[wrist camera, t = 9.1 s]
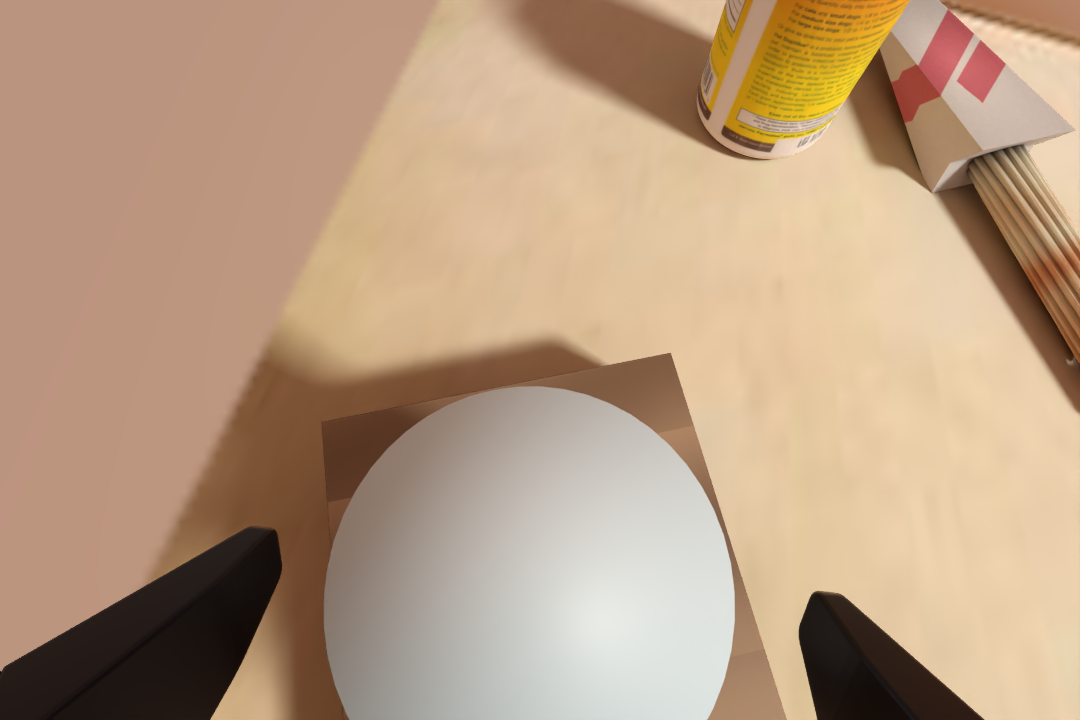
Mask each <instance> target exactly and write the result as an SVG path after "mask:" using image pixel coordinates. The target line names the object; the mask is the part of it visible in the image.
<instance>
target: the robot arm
mask: <svg viewBox="0 0 1080 720" xmlns="http://www.w3.org/2000/svg"><path fill="white" fill-rule="evenodd" d="M281 571H282V561H281V554H280V547H279V541H278V535H277V532H276V531H275V530H274V529H272V528H267V527H258V526H250V527H248V528H246V529H244V530H242V531H240V532H238V533H237V534H235V535H233V536H231V537H230V538H228V539H226V540H225V541H223V542H221V543H219V544H218V545H216V546H214V547H212V548H211V549H209V550H207V551H205V552H204V553H202V554H200V555H198V556H197V557H195V558H193V559H191V560H190V561H188V562H186V563H184V564H183V565H181V566H179V567H177V568H176V569H174V570H172V571H170V572H169V573H167V574H165V575H164V576H162V577H160V578H158V579H157V580H155V581H153V582H151V583H150V584H148V585H146V586H144V587H143V588H141V589H139V590H137V591H136V592H134V593H132V594H130V595H129V596H127V597H125V598H123V599H122V600H120V601H118V602H117V603H115V604H113V605H111V606H109V607H108V608H106V609H104V610H102V611H101V612H99V613H97V614H96V615H94V616H92V617H90V618H89V619H87V620H85V621H83V622H82V623H80V624H78V625H76V626H75V627H73V628H71V629H70V630H68V631H66V632H64V633H62V634H61V635H59V636H57V637H56V638H54V639H52V640H50V641H48V642H47V643H45V644H43V645H42V646H40V647H38V648H36V649H34V650H33V651H31V652H29V653H27V654H26V655H24V656H22V657H21V658H19V659H17V660H15V661H14V662H12V663H10V664H8V665H7V666H5V667H4V668H3V670H2V672H1V671H0V720H210V719H211V717H212V715H213V714H214V712H215V710H216V708H217V707H218V705H219V703H220V701H221V700H222V698H223V696H224V694H225V693H226V691H227V689H228V687H229V686H230V684H231V682H232V680H233V678H234V677H235V675H236V673H237V671H238V669H239V667H240V665H241V663H242V661H243V659H244V657H245V655H246V653H247V650H248V648H249V646H250V644H251V641H252V639H253V637H254V635H255V633H256V630H257V628H258V626H259V624H260V621H261V619H262V617H263V615H264V612H265V610H266V608H267V606H268V603H269V601H270V599H271V597H272V595H273V592H274V590H275V588H276V586H277V583H278V581H279V579H280V575H281ZM799 641H800V646H801V650H802V655H803V659H804V663H805V668H806V672H807V676H808V681H809V685H810V689H811V694H812V698H813V702H814V707H815V711H816V716H817V720H984V719H983V718H982V717H981V716H980V715H979V714H978V713H976V712H975V711H974V710H973V709H972V708H971V707H970V706H968V705H967V704H966V703H965V702H964V701H963V700H962V699H960V698H959V697H958V696H957V695H956V694H955V693H954V692H952V691H951V690H950V689H949V688H948V687H947V686H946V685H945V684H943V683H942V682H941V681H940V680H939V679H938V678H937V677H935V676H934V675H933V674H932V673H931V672H930V671H929V670H927V669H926V668H925V667H924V666H923V665H922V664H921V663H920V662H918V661H917V660H916V659H915V658H914V657H913V656H912V655H910V654H909V653H908V652H907V651H906V650H905V649H904V648H902V647H901V646H900V645H899V644H898V643H897V642H896V641H895V640H893V639H892V638H891V637H890V636H889V635H888V634H887V633H885V632H884V631H883V630H882V629H881V628H880V627H879V626H877V625H876V624H875V623H874V622H873V621H872V620H871V619H870V618H868V617H867V616H866V615H865V614H864V613H863V612H862V611H860V610H859V609H858V608H857V607H856V606H855V605H854V604H852V603H851V602H850V601H849V600H848V599H847V598H846V597H844V596H843V595H841V594H838V593H833V592H824V591H815V592H814V593H813V594H812V595H811V597H810V599H809V602H808V604H807V607H806V610H805V612H804V615H803V618H802V620H801V623H800V626H799Z"/></svg>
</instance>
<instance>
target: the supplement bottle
mask: <svg viewBox="0 0 1080 720" xmlns="http://www.w3.org/2000/svg"><path fill="white" fill-rule="evenodd" d="M909 1H910V0H726V3H725V6H724V10H723V13H722V16H721V19H720V22H719V25H718V28H717V31H716V34H715V37H714V40H713V44H712V46H711V49H710V53H709V56H708V59H707V62H706V65H705V68H704V71H703V74H702V77H701V80H700V84H699V87H698V92H697V108H698V112H699V115H700V118H701V120H702V122H703V124H704V126H705V127H706V129H707V130H708V132H709V133H710V134H711V135H712V136H713V137H714V138H715V139H716V140H717V141H718V142H720V143H721V144H722V145H724V146H726V147H727V148H729V149H731V150H733V151H735V152H737V153H740V154H743V155H746V156H749V157H754V158H760V159H777V158H784V157H788V156H791V155H794V154H797V153H799V152H802V151H803V150H805V149H807V148H808V147H810V146H811V145H813V144H814V143H815V142H816V141H817V140H818V139H819V138H820V137H821V136H822V134H823V133H824V132H825V130H826V129H827V128H828V126H829V125H830V123H831V121H832V120H833V118H834V117H835V115H836V114H837V112H838V111H839V109H840V108H841V106H842V105H843V103H844V102H845V100H846V98H847V97H848V95H849V94H850V92H851V91H852V89H853V88H854V86H855V84H856V83H857V81H858V80H859V78H860V77H861V75H862V74H863V72H864V71H865V69H866V68H867V66H868V65H869V63H870V61H871V60H872V58H873V57H874V55H875V54H876V52H877V51H878V49H879V48H880V46H881V45H882V43H883V42H884V40H885V39H886V37H887V36H888V34H889V32H890V31H891V29H892V28H893V26H894V25H895V23H896V22H897V20H898V19H899V17H900V15H901V14H902V12H903V11H904V9H905V8H906V6H907V4H908V3H909Z"/></svg>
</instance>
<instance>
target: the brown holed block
mask: <svg viewBox="0 0 1080 720" xmlns="http://www.w3.org/2000/svg"><path fill="white" fill-rule="evenodd" d="M530 386H541V387H550V388H559V389H566V390H570V391H574V392H578V393H582V394H586V395H589V396H592V397H594V398H597V399H600V400H602V401H605V402H608V403H610V404H612V405H614V406H616V407H618V408H619V409H621V410H623V411H625V412H627V413H629V414H631V415H632V416H634V417H635V418H637V419H638V420H639V421H641V422H642V423H644V424H645V425H647V426H648V427H649V428H651V429H652V430H653V431H654V432H655V433H657V434H658V435H659V436H660V437H661V438H662V439H663V440H664V441H666V442H667V443H668V444H669V445H670V446H671V447H672V448H673V450H674V451H675V452H676V453H677V454H678V455H679V456H680V458H681V459H682V460H683V461H684V462H685V463H686V464H687V466H688V467H689V469H690V470H691V472H692V473H693V474H694V476H695V477H696V479H697V480H698V482H699V483H700V485H701V486H702V488H703V490H704V492H705V494H706V496H707V497H708V499H709V501H710V503H711V505H712V507H713V509H714V511H715V514H716V516H717V519H718V522H719V524H720V527H721V529H722V532H723V535H724V538H725V542H726V546H727V550H728V554H729V558H730V562H731V568H732V576H733V584H734V592H735V623H734V632H733V640H732V649H731V654H730V658H729V662H728V666H727V671H726V675H725V679H724V682H723V685H722V687H721V690H720V692H719V695H718V697H717V700H716V703H715V705H714V708H713V710H712V712H711V714H710V716H709V717H708V719H707V720H787V719H786V716H785V713H784V710H783V707H782V703H781V700H780V697H779V694H778V691H777V688H776V685H775V681H774V678H773V675H772V672H771V669H770V666H769V662H768V659H767V656H766V653H765V650H764V647H763V643H762V640H761V637H760V634H759V631H758V628H757V624H756V621H755V618H754V615H753V612H752V609H751V605H750V602H749V599H748V596H747V593H746V590H745V586H744V583H743V580H742V577H741V574H740V571H739V568H738V564H737V561H736V558H735V555H734V552H733V549H732V545H731V542H730V539H729V536H728V533H727V530H726V526H725V523H724V520H723V517H722V514H721V511H720V507H719V504H718V501H717V498H716V495H715V492H714V488H713V485H712V482H711V479H710V476H709V473H708V469H707V466H706V463H705V460H704V457H703V454H702V450H701V447H700V444H699V441H698V438H697V435H696V432H695V428H694V425H693V422H692V419H691V416H690V413H689V409H688V406H687V403H686V400H685V397H684V394H683V390H682V387H681V384H680V381H679V378H678V375H677V371H676V368H675V365H674V362H673V359H672V356H671V353H667V354H662V355H657V356H652V357H647V358H642V359H637V360H632V361H627V362H622V363H617V364H612V365H607V366H602V367H597V368H592V369H587V370H582V371H577V372H572V373H567V374H562V375H557V376H552V377H547V378H541V379H536V380H531V381H526V382H521V383H516V384H511V385H506V386H501V387H496V388H491V389H486V390H481V391H476V392H471V393H466V394H461V395H456V396H451V397H446V398H441V399H436V400H431V401H426V402H421V403H416V404H411V405H405V406H400V407H395V408H390V409H385V410H380V411H375V412H370V413H365V414H360V415H355V416H350V417H345V418H340V419H335V420H330V421H325V422H322V435H323V448H324V462H325V476H326V490H327V503H328V517H329V531H330V545H331V550H332V546H333V542H334V539H335V536H336V534H337V531H338V528H339V525H340V523H341V520H342V517H343V515H344V513H345V511H346V509H347V507H348V505H349V503H350V501H351V499H352V497H353V495H354V493H355V491H356V489H357V488H358V486H359V485H360V484H361V482H362V481H363V479H364V478H365V476H366V475H367V473H368V472H369V470H370V469H371V467H372V466H373V465H374V464H375V463H376V461H377V460H378V459H379V458H380V457H381V456H382V454H383V453H384V452H385V451H386V450H387V449H388V448H389V447H390V446H391V445H392V444H393V443H394V442H395V441H396V440H397V439H398V438H400V437H401V436H402V435H403V434H404V433H405V432H406V431H407V430H409V429H410V428H412V427H413V426H414V425H416V424H417V423H419V422H420V421H421V420H423V419H424V418H425V417H427V416H429V415H431V414H432V413H434V412H436V411H438V410H440V409H441V408H443V407H445V406H447V405H449V404H451V403H454V402H456V401H459V400H461V399H464V398H466V397H469V396H472V395H476V394H480V393H483V392H487V391H491V390H496V389H503V388H511V387H530ZM342 710H343V720H349V718H348V716H347V714H346V712H345V709H344V707H343V704H342Z"/></svg>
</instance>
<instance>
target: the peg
mask: <svg viewBox="0 0 1080 720" xmlns="http://www.w3.org/2000/svg"><path fill="white" fill-rule="evenodd" d="M734 623H735V592H734V584H733V576H732V568H731V562H730V558H729V554H728V550H727V546H726V542H725V538H724V535H723V532H722V529H721V527H720V524H719V522H718V519H717V516H716V514H715V511H714V509H713V507H712V505H711V503H710V501H709V499H708V497H707V496H706V494H705V492H704V490H703V488H702V486H701V485H700V483H699V482H698V480H697V479H696V477H695V476H694V474H693V473H692V472H691V470H690V469H689V467H688V466H687V464H686V463H685V462H684V461H683V460H682V459H681V458H680V456H679V455H678V454H677V453H676V452H675V451H674V450H673V448H672V447H671V446H670V445H669V444H668V443H667V442H666V441H664V440H663V439H662V438H661V437H660V436H659V435H658V434H657V433H655V432H654V431H653V430H652V429H651V428H649V427H648V426H647V425H645V424H644V423H642V422H641V421H639V420H638V419H637V418H635V417H634V416H632V415H631V414H629V413H627V412H625V411H623V410H621V409H619V408H618V407H616V406H614V405H612V404H610V403H608V402H605V401H602V400H600V399H597V398H594V397H592V396H589V395H586V394H582V393H578V392H574V391H570V390H566V389H559V388H550V387H541V386H530V387H511V388H503V389H496V390H491V391H487V392H483V393H480V394H476V395H472V396H469V397H466V398H464V399H461V400H459V401H456V402H454V403H451V404H449V405H447V406H445V407H443V408H441V409H440V410H438V411H436V412H434V413H432V414H431V415H429V416H427V417H425V418H424V419H423V420H421V421H420V422H419V423H417V424H416V425H414V426H413V427H412V428H410V429H409V430H407V431H406V432H405V433H404V434H403V435H402V436H401V437H400V438H398V439H397V440H396V441H395V442H394V443H393V444H392V445H391V446H390V447H389V448H388V449H387V450H386V451H385V452H384V453H383V454H382V456H381V457H380V458H379V459H378V460H377V461H376V463H375V464H374V465H373V466H372V467H371V469H370V470H369V472H368V473H367V475H366V476H365V478H364V479H363V481H362V482H361V484H360V485H359V486H358V488H357V489H356V491H355V493H354V495H353V497H352V499H351V501H350V503H349V505H348V507H347V509H346V511H345V513H344V515H343V517H342V520H341V523H340V525H339V528H338V531H337V534H336V536H335V539H334V542H333V546H332V550H331V555H330V559H329V563H328V567H327V574H326V582H325V591H324V632H325V640H326V648H327V656H328V660H329V664H330V668H331V672H332V676H333V679H334V683H335V687H336V689H337V692H338V694H339V697H340V699H341V702H342V704H343V707H344V709H345V712H346V714H347V716H348V718H349V720H707V719H708V717H709V716H710V714H711V712H712V710H713V708H714V705H715V703H716V700H717V697H718V695H719V692H720V690H721V687H722V685H723V682H724V679H725V675H726V671H727V666H728V662H729V658H730V654H731V649H732V640H733V632H734Z"/></svg>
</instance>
